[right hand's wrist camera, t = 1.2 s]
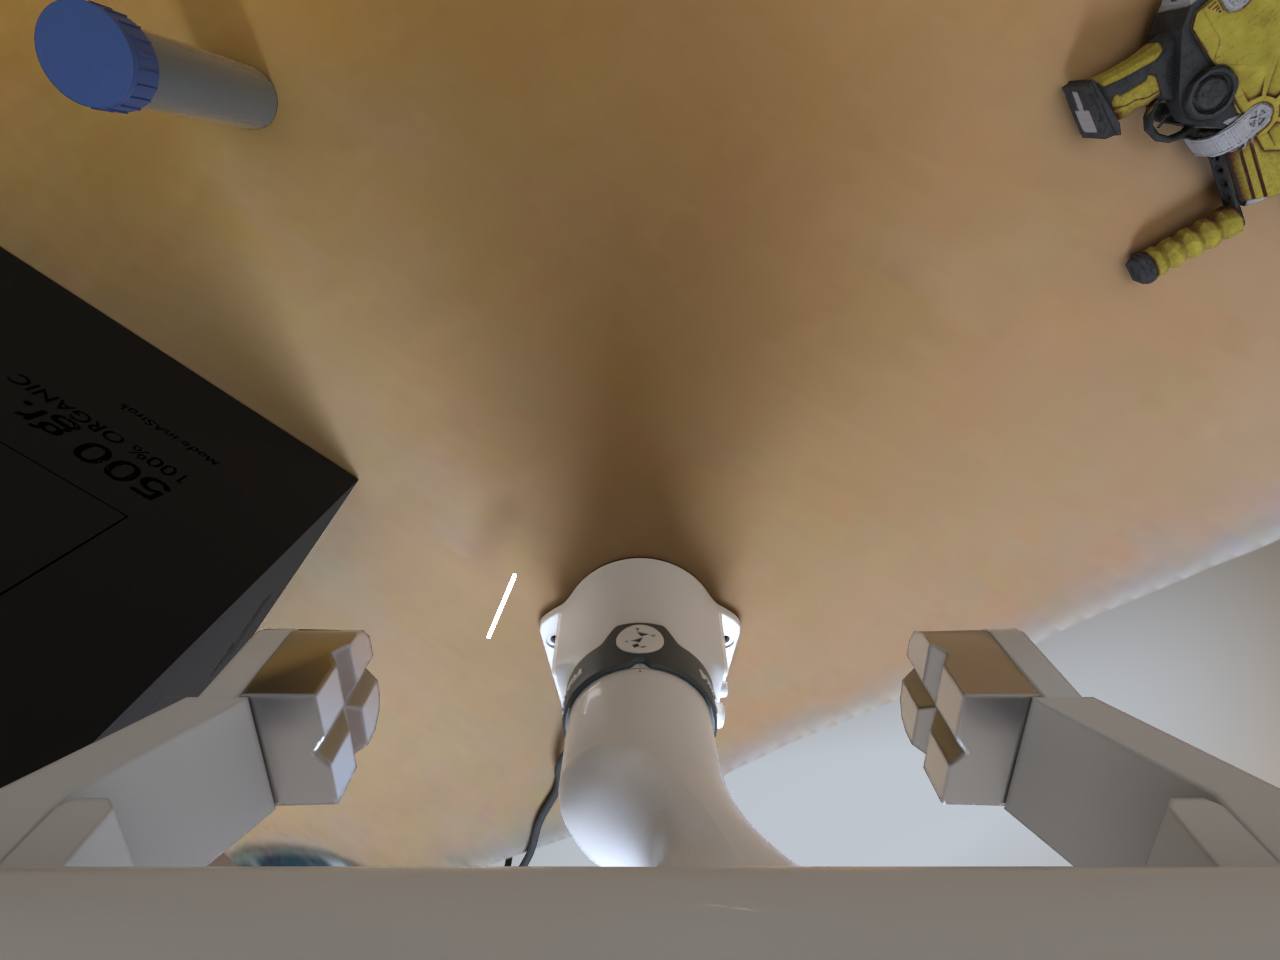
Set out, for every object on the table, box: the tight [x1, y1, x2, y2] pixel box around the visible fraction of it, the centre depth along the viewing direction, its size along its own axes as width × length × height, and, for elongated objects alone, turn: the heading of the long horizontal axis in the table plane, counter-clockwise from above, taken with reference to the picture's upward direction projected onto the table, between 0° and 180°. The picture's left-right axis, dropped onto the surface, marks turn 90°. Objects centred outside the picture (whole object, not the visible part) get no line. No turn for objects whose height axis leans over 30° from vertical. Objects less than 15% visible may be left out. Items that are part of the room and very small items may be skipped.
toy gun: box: [1062, 0, 1280, 284], centre depth 50 cm, size 5×24×15 cm
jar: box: [141, 28, 277, 129], centre depth 43 cm, size 4×4×16 cm
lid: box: [35, 0, 160, 114], centre depth 36 cm, size 5×5×2 cm
